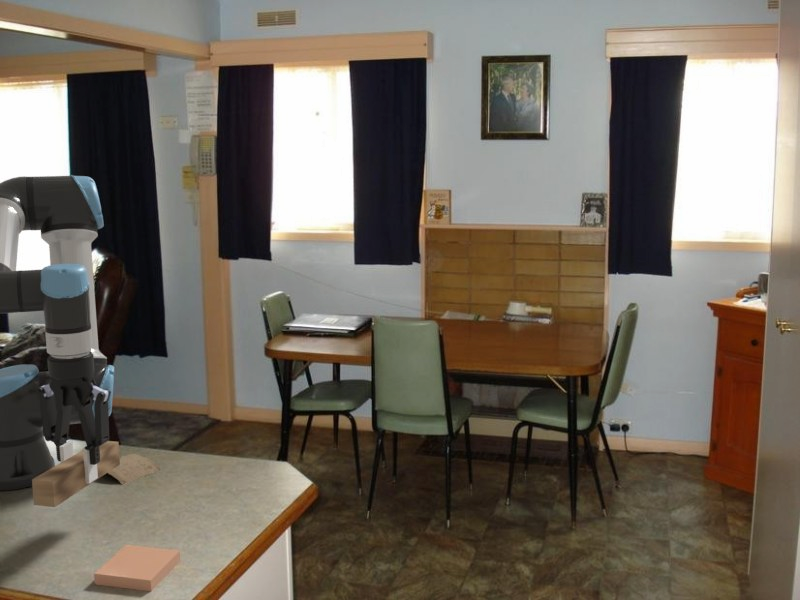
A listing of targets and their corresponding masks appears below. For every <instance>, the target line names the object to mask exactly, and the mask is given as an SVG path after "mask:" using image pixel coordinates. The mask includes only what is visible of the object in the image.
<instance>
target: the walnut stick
mask: <svg viewBox="0 0 800 600" xmlns="http://www.w3.org/2000/svg"><path fill="white" fill-rule="evenodd" d="M119 442H120V441H112V440H109V441H107V442H105V443H104V444H102V445H101V446H99V449H100V462H99V463H97V471H98V478H97V479H96V480H94V481H93V482H91V483H90V484H87V483H86V480H85V467H84V456H83V449H82V450H80V451H78V452H77V453H75V454H73V456H72V457H70V458H68V459H67V460H65V461H63V462H60V463H58V464H55V466H54V467H53V468H51V469H49V470H48V471H46V472H44V473H42V474H41V475H39V476H37V477H36V478H34V479H32V486H31V487H32V498H33V499H32V501H33V505H34V506H40V507H49V508H56V507H57V506H59V505H60V504H62V503H64V502H65V501H66V500H68V499H69V498H71V497H73V496H74V495H76V494H77V493H78V492H80V491H82V490H83V489H84V488H86V487H88V486H89V485H91V484H93V483H94V482H95V481H97V480H99V479H100V478H101V477H103V476H104V475H106V474H108V472H109V471H111V470H112V469H114V468H115V467H117V466H118V465H120V444H119Z"/></svg>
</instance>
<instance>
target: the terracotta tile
mask: <svg viewBox="0 0 800 600" xmlns="http://www.w3.org/2000/svg"><path fill="white" fill-rule="evenodd" d="M180 562H181V551H180V550H178V549H177V550H176V549H167V548H161V547H158V548H157V547H151V546H141V545H133V544H125V545H124V546H123V547H122V548H121V549H120V550H119V551H117V553H116V554H114V555H113V556H112V557H111V558H110V559H109V560H108V561H106V562H105V563H104V564H103V565H102V566H101V567H100V568H99V569H98V570H96V571H95V572H94V574H93V575H94V576H93V577H94V579H93V580H94V585H97V586H98V585H99V586H107V587H114V588H121V589H122V588H123V589H129V590H130V589H131V590H138V591H146V592H152V591H154V589H155V588H157V587H158V585H159V584H160V583H161V582H162V581H163V579H165V578H166V577H167V576H168V574H170V572H171V571H173V570H174V569H175V567H176V566H177V565H178V564H179V563H180Z"/></svg>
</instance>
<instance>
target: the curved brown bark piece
mask: <svg viewBox="0 0 800 600" xmlns="http://www.w3.org/2000/svg"><path fill="white" fill-rule="evenodd" d="M119 458H120V465H118V466H117V467H115V468H114V469H112V470H111V471H109V472H108V473H107V474H108V475H110V476H112V477H113V478H115V479H116V480H118V482H119V483H120V484H121V485H126V484H125V483H127V484H130V483H132V482H134V481H133V480H135V479H137V480H139V479H142V478H144V477H146V476H145V475H147V476H149V475H151V473H152V474H153V473H156V471H157V472H159V471H161V467H160V466H159V465H157V464H156V463H155V462H154V461H153V460H150V458H147V457H144V456H142V455H139V454H135V453H128V454H125V455H122V456H121V457H120V456H119ZM148 474H149V475H148ZM141 477H142V478H141ZM138 478H139V479H138ZM131 481H132V482H131ZM135 481H136V480H135ZM129 482H130V483H129Z"/></svg>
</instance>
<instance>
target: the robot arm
mask: <svg viewBox="0 0 800 600" xmlns="http://www.w3.org/2000/svg"><path fill="white" fill-rule="evenodd" d="M100 201H101V200H100V197H99V192H98V188H97V185H96V182H95V180H94V179H93V178H92V177H90V176H85V175H73V174H70V175H55V176H53V175H52V176H50V175H47V176H44V175H43V176H18V177H12V178H9V179H6V180H4V181H2V182H0V315H1V314H13V313H17V314H18V313H30V312H31V313H33V312H43V317H44V331H45V344H46V345H45V346H46V353H47V354H49V356H48V357H47V359H46V361H47V369H48V371H47V370H46V371H40V370H39V369H40V368H38V366H37V365H35V364H32V363H31V364H30V363H29V364H16V365H11V366H7V367H3V368H0V491H11V490H12V491H13V490H19V489H20V490H21V489H25V488H29V487H32V479H34V478H36V477H37V476H39V475H41V474H42V473H44V472H46V471H48V470H49V469H51V468H53V467H54V466H56V463H55V459H54V457H53V456H52V454H51V451H50V449H49V447H48V445H47V442H52V443H53V444H54V445H55V451H56V460H57V461H58V462H60V463H61V462H63V461H65V460H67V459H68V458H70V457H72V456H73V455H74V448H73V447H74V445H73V441H70V439H71V437H70V436H69V435H70V434H69V432H70V425H74V424H80V425H81V426H80V427H82V428H81V429H82V432H83V437H84V440H85V444H86V446H84V447H83V448H82V450H83V456H84V467H85V480H86V483H87V484H89V485H91V484H92V483H94V482H95V481H97V480H98V479H97V478H98V471H97V463H99V462H100V449H99V446H101V445H102V444H104V443H105V442H107V441H110V421H109V418H110V416H111V414H112V410H113V398H114V397H113V395H114V382H115V381H114V379H115V376H114V375H115V366H114V365H111V364H108V360H107V359H108V357H107V356H105V355H104V354H103V353H102V352H101V350H100V349H99V339H98V338H99V335H98V325H97V323H98V320H97V309H96V307H97V306H96V296H95V295H96V291H95V281H94V270H93V269H94V268H93V267H94V265H93V255H92V243H93V242H94V241H95V240H96V239H97V238H98V237H99V235H98V230H100V229H102V228H103V227H104V226H105V224H104V216H103V213H102V206H101V202H100ZM22 231H40V237H41V239H42V240H43V241H44V242H45V243H46V244H47V245H48V248H49V249H48V251H49V263H50V265H48V266H44V267H43V268H42V269H31V270H30V269H28V270H17V262H18V261H17V260H18V251H19V250H18V249H19V248H18V247H19V237H20V234H21V233H22ZM68 440H69V441H68ZM96 479H97V480H96ZM94 480H95V481H94ZM93 481H94V482H93ZM91 482H92V483H91ZM90 483H91V484H90Z"/></svg>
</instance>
